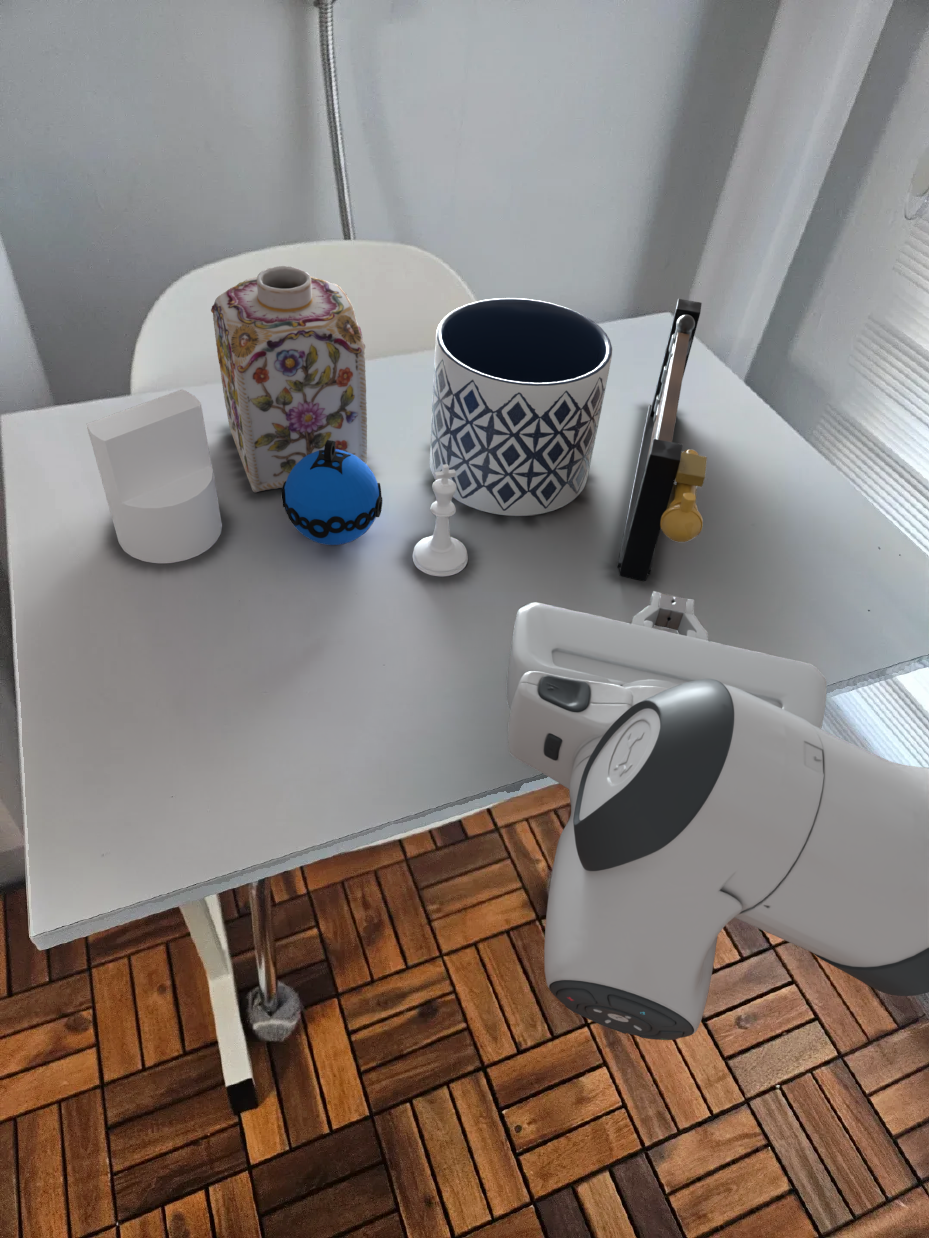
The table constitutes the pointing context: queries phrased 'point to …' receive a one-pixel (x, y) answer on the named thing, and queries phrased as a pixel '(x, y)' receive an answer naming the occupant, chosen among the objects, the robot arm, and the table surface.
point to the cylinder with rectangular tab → (159, 478)
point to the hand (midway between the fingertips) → (671, 601)
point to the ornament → (331, 496)
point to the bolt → (682, 513)
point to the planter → (517, 403)
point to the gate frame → (657, 477)
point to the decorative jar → (290, 371)
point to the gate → (672, 381)
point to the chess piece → (441, 533)
